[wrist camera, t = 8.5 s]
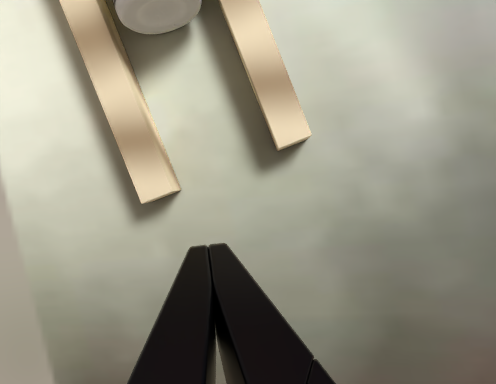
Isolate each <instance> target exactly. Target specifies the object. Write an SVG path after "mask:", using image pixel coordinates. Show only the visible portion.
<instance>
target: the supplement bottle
mask: <svg viewBox="0 0 496 384" xmlns="http://www.w3.org/2000/svg"><path fill="white" fill-rule="evenodd" d="M113 3H114V7H115V10H116V12H117V15H118V17H119V19H120V21H121V22H122V23H123V24H124V25H125V26H126V27H127V28H129V29H131V30H133V31H135V32H138V33H143V34H161V33H166V32H169V31H172V30H175V29H177V28H180V27H182V26H184V25H186V24H187V23H189V22H190V21H191V20H193V19H194V18H195V16H196V15H197V14H198V12H199V10H200V8H201V0H113Z"/></svg>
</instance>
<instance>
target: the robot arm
mask: <svg viewBox="0 0 496 384" xmlns="http://www.w3.org/2000/svg"><path fill="white" fill-rule="evenodd" d="M215 328H216V332H215ZM216 336H217V342H218V347H219V352H220V356H221V361H222V365H223V370H224V374H225V378H226V383H227V384H336V383H335V382H334V381H333V379H332V378H331V377H330V376H329V375H328V373H327V372H326V371H325V369H324V368H323V367H322V366H321V364H320V363H319V362H318V360H317V359H314V356H313V354H312V353H311V352H310V350H309V349H308V348H307V347H306V345H305V344H304V343H303V341H302V340H301V339H300V338H299V336H298V335H297V334H296V332H295V331H294V330H293V329H292V327H291V326H290V325H289V323H288V322H287V321H286V320H285V318H284V317H283V316H282V314H281V313H280V312H279V311H278V309H277V308H276V307H275V306H274V304H273V303H272V302H271V300H270V299H269V298H268V297H267V295H266V294H265V293H264V291H263V290H262V289H261V288H260V286H259V285H258V284H257V282H256V281H255V280H254V279H253V277H252V276H251V275H250V273H249V272H248V271H247V270H246V268H245V267H244V266H243V264H242V263H241V262H240V261H239V259H238V258H237V257H236V255H235V254H234V253H233V252H232V250H231V249H230V248H229V246H228V245H227V244H225V243H218V244H210V245H209V247H207V246H206V245H200V246H192V247H190V248H189V250H188V252H187V254H186V256H185V258H184V260H183V263H182V265H181V267H180V269H179V271H178V273H177V276H176V278H175V280H174V282H173V284H172V287H171V289H170V291H169V293H168V295H167V297H166V300H165V302H164V304H163V306H162V308H161V311H160V313H159V315H158V317H157V319H156V321H155V324H154V326H153V328H152V330H151V332H150V334H149V337H148V339H147V341H146V343H145V345H144V348H143V350H142V352H141V354H140V356H139V358H138V361H137V363H136V365H135V367H134V369H133V372H132V374H131V376H130V378H129V380H128V382H127V384H215V377H216ZM313 359H314V360H313Z"/></svg>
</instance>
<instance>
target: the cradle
mask: <svg viewBox="0 0 496 384" xmlns="http://www.w3.org/2000/svg"><path fill="white" fill-rule="evenodd" d="M59 1H60V3H61V6H62V8H63V11H64V13H65V16H66V18H67V21H68V23H69V26H70V28H71V31H72V33H73V36H74V38H75V41H76V43H77V45H78V48H79V50H80V53H81V55H82V58H83V60H84V63H85V65H86V68H87V70H88V73H89V75H90V78H91V80H92V83H93V85H94V87H95V90H96V92H97V95H98V97H99V100H100V102H101V105H102V107H103V110H104V112H105V115H106V117H107V120H108V122H109V125H110V127H111V129H112V132H113V134H114V137H115V139H116V142H117V144H118V147H119V149H120V152H121V154H122V157H123V159H124V162H125V164H126V167H127V169H128V171H129V174H130V176H131V179H132V181H133V184H134V186H135V189H136V191H137V194H138V196H139V199H140V201H141V204H143V203H148V202H153V201H155V200H158V199H160V198H163V197H165V196H168V195H170V194H173V193H175V192H178V191H180V190H181V188H180V185H179V183H178V180H177V178H176V175H175V173H174V170H173V168H172V165H171V163H170V160H169V158H168V155H167V153H166V150H165V148H164V145H163V143H162V140H161V138H160V135H159V133H158V130H157V128H156V125H155V123H154V121H153V118H152V116H151V113H150V111H149V108H148V106H147V103H146V101H145V98H144V96H143V93H142V91H141V88H140V86H139V83H138V81H137V78H136V76H135V73H134V71H133V68H132V66H131V63H130V61H129V58H128V56H127V53H126V51H125V48H124V46H123V43H122V41H121V38H120V36H119V33H118V31H117V29H116V26H115V24H114V21H113V19H112V16H111V14H110V11H109V9H108V6H107V4H106V1H105V0H59ZM218 2H219V5H220V7H221V10H222V12H223V15H224V17H225V20H226V22H227V25H228V27H229V30H230V33H231V35H232V38H233V40H234V43H235V45H236V48H237V50H238V53H239V55H240V58H241V60H242V63H243V65H244V68H245V70H246V73H247V75H248V78H249V81H250V83H251V86H252V88H253V91H254V93H255V96H256V98H257V101H258V103H259V106H260V108H261V111H262V113H263V116H264V118H265V121H266V123H267V126H268V128H269V131H270V134H271V136H272V139H273V141H274V144H275V146H276V149H277V151H279V150H282V149H284V148H287V147H289V146H292V145H294V144H297V143H299V142H302V141H304V140H307V139H308V138H309V137H310V136H311V135H312V134H311V131H310V129H309V126H308V124H307V121H306V119H305V116H304V114H303V111H302V109H301V106H300V103H299V101H298V98H297V96H296V93H295V91H294V88H293V86H292V83H291V81H290V78H289V76H288V73H287V70H286V68H285V65H284V63H283V60H282V58H281V55H280V53H279V50H278V48H277V45H276V43H275V40H274V37H273V35H272V32H271V30H270V27H269V25H268V22H267V20H266V17H265V15H264V12H263V9H262V7H261V4H260V2H259V0H218Z"/></svg>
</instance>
